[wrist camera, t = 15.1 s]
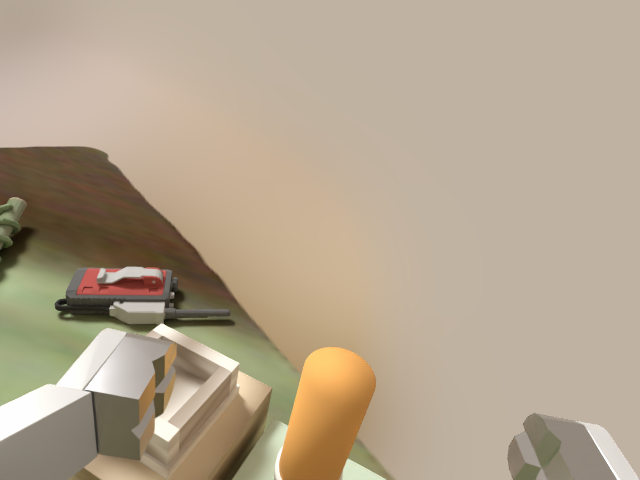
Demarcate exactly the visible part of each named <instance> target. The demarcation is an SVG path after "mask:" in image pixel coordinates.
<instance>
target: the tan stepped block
mask: <svg viewBox="0 0 640 480" xmlns="http://www.w3.org/2000/svg"><path fill="white" fill-rule="evenodd" d="M145 336H148V337H152V338H157V339H161V340H165V341H170V342H174V343H175V344H177V348H176V357H175V359H174V361H173V363H172V366H173V367H174V368H175V370H176V376H175V383H174V388H173V391H172V394H171V397H170V400H169V403H168V405H167V407H166V409H165V411H164V413H163V414H162V415H160V416H159V417H157V418H155V432H154V434H153V436H152V438H151V440H150V442H149V444H148V446H147V448H146V450H145V452H144V454H143V456H142V458H141V460H140V461H138V460H132V459H126V458H119V457H113V456H106V455H100V454H97V458H95V459H94V460H93V461H91V462H90V463H89V464H88V465H86V466H85V467H84V468H82V469H81V470H80V471H79V472H77V473H76V474H75V475H74V476H72V477H71V478H70V479H68V480H232V479H233V478H234V476H235V475H236V473H237V472H238V470H239V469H240V467H241V466H242V464H243V463H244V461H245V460H246V458H247V457H248V455H249V454H250V452H251V451H252V449H253V448H254V446H255V445H256V443H257V442H258V440H259V439H260V437H261V436H262V434H263V432H264V427H265V422H266V417H267V412H268V407H269V402H270V397H271V392H272V388H271V387H269V386H267V385H265V384H263V383H262V382H260V381H258V380H256V379H254V378H252V377H250V376H248V375H246V374H244V373H242V372H240V371H239V363H238V362H236V361H234V360H232V359H230V358H228V357H226V356H224V355H222V354H220V353H218V352H216V351H214V350H213V349H211V348H209V347H207V346H205V345H203V344H201V343H199V342H197V341H195V340H193V339H191V338H189V337H187V336H185V335H183V334H181V333H180V332H178V331H176V330H174V329H172V328H170V327H168V326H166V325H164V324H162V323H161V324H160V325H159V326H157V327H156V328H155V329H153V330H152V331H151V332H149V333H148V334H146V335H145Z"/></svg>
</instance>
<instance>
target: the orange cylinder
mask: <svg viewBox="0 0 640 480" xmlns="http://www.w3.org/2000/svg"><path fill="white" fill-rule="evenodd" d="M375 387H376V379H375V375H374V373H373V370H372V369H371V367H370V366H369V365H368V363H367V362H366V361H365V360H364V359H363V358H361V357H360V356H359V355H357V354H355V353H353V352H351V351H349V350H346V349H343V348H337V347H326V348H322V349H319V350H316V351H315V352H313V353H312V354H311V355H310V356H309V357H308V358H307V359H306V362H305V365H304V368H303V372H302V376H301V380H300V384H299V387H298V391H297V395H296V399H295V403H294V406H293V410H292V414H291V418H290V422H289V426H288V429H287V433H286V437H285V441H284V445H283V446H282V448H281V449H280V451H279V453H278V455H277V459H276V463H275V467H274V480H342V478H343V469H344V466H345V464H346V461H347V459H348V456H349V454H350V451H351V449H352V446H353V444H354V441H355V439H356V436H357V434H358V431H359V429H360V426H361V424H362V421H363V419H364V416H365V414H366V411H367V409H368V406H369V403H370V401H371V398H372V396H373V393H374V391H375Z"/></svg>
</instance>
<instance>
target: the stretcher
mask: <svg viewBox="0 0 640 480" xmlns="http://www.w3.org/2000/svg"><path fill="white" fill-rule="evenodd" d="M26 206H27V205H26V202H25V201H24V200H22V199H20V198H16V197H15V198H10V199H9V201H8V202H7V204H6V205H2V206H0V250H1V249H3V248H8V247H9V246H11V245H12V244H13V241H12V240H11V239H10V238H9V236H10V234H15V233H17V232H18V231H20V230H21V226H20V224H19V223H18V221H19V219H20V217H21V215H22V213H23V212H24V210H25V208H26ZM0 262H1V257H0Z"/></svg>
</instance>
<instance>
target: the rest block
mask: <svg viewBox="0 0 640 480" xmlns="http://www.w3.org/2000/svg"><path fill="white" fill-rule="evenodd" d="M287 429H288V426H287V425H285V424H283V423H282V422H280V421H278V420H276V419H274V418H273V419H272V421H271V422H270V424H269V425H268V427H267V428H266V430H265V431H264V433H263V434H262V436H261V437H260V439H259V440H258V442H257V443H256V445H255V446H254V448H253V449H252V451H251V452H250V454H249V455H248V457H247V458H246V460H245V461H244V463H243V464H242V466H241V467H240V469H239V470H238V472H237V473H236V475H235V476H234V478H233V479H232V480H274V467H275V463H276V459H277V455H278V453H279V451H280V449H281V448H282V446H283V445H284V441H285V437H286V433H287ZM342 480H386V479H384V478H383V477H381V476H379V475H377V474H375V473H373V472H372V471H370V470H368V469H366V468H364V467H362V466H361V465H359V464H357V463H355V462H353V461H351V460H349V459H347V461H346V464H345V466H344V469H343V478H342Z"/></svg>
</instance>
